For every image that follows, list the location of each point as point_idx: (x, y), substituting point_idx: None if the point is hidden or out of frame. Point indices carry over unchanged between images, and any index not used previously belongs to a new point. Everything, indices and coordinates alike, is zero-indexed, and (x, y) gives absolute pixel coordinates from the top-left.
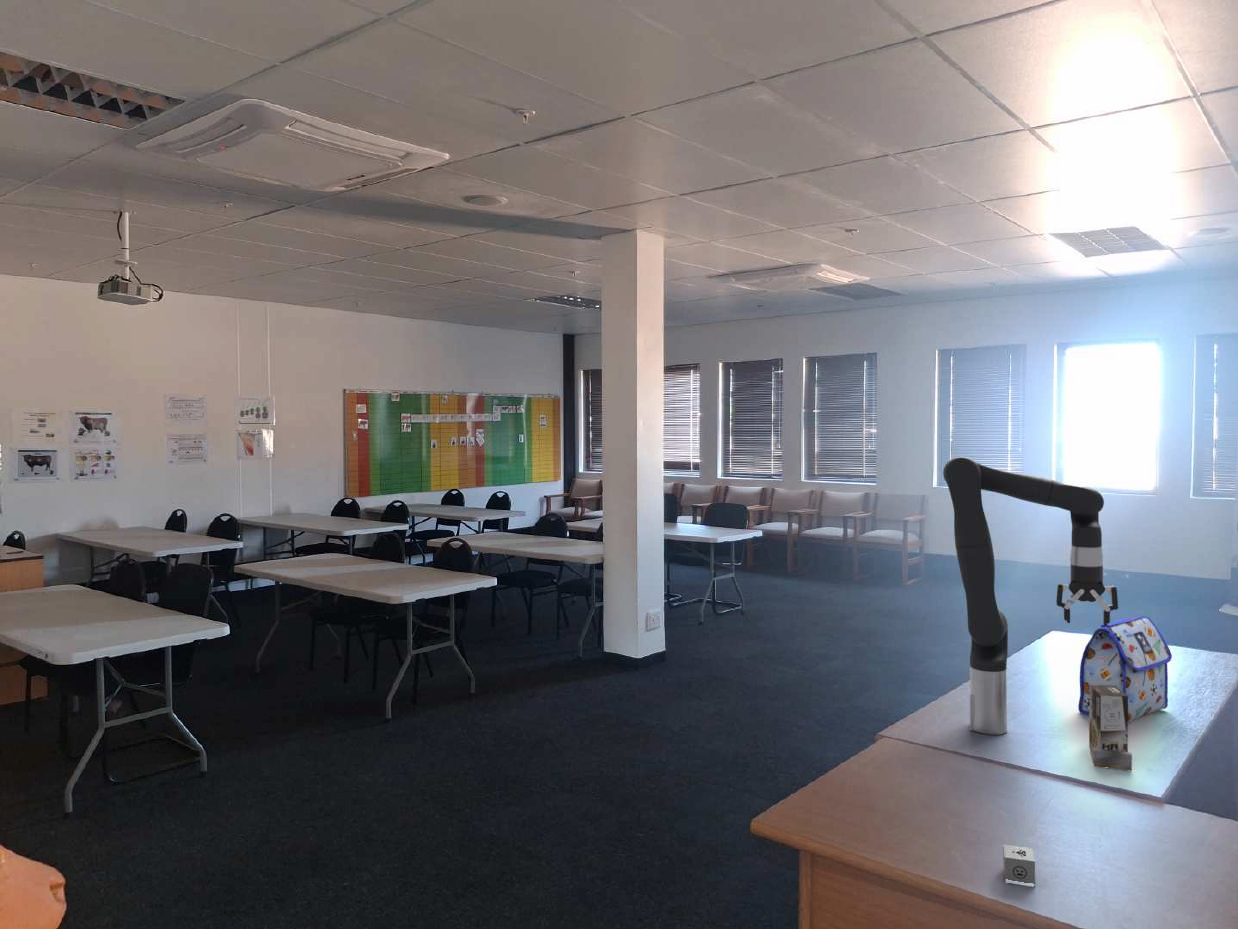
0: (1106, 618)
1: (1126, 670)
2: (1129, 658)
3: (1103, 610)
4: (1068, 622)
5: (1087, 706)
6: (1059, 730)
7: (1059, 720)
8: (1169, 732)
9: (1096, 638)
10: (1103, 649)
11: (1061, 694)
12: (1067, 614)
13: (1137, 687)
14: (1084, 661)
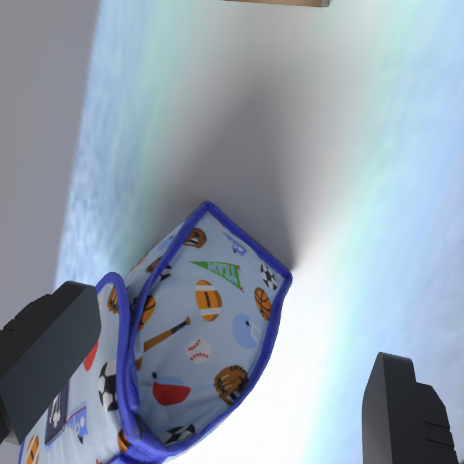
0: (28, 322)
1: (142, 285)
2: (112, 308)
3: (13, 433)
4: (398, 356)
5: (272, 276)
6: (380, 134)
7: (356, 214)
8: (122, 174)
9: (193, 426)
10: (185, 386)
11: (304, 374)
12: (422, 441)
13: (140, 266)
14: (254, 368)
